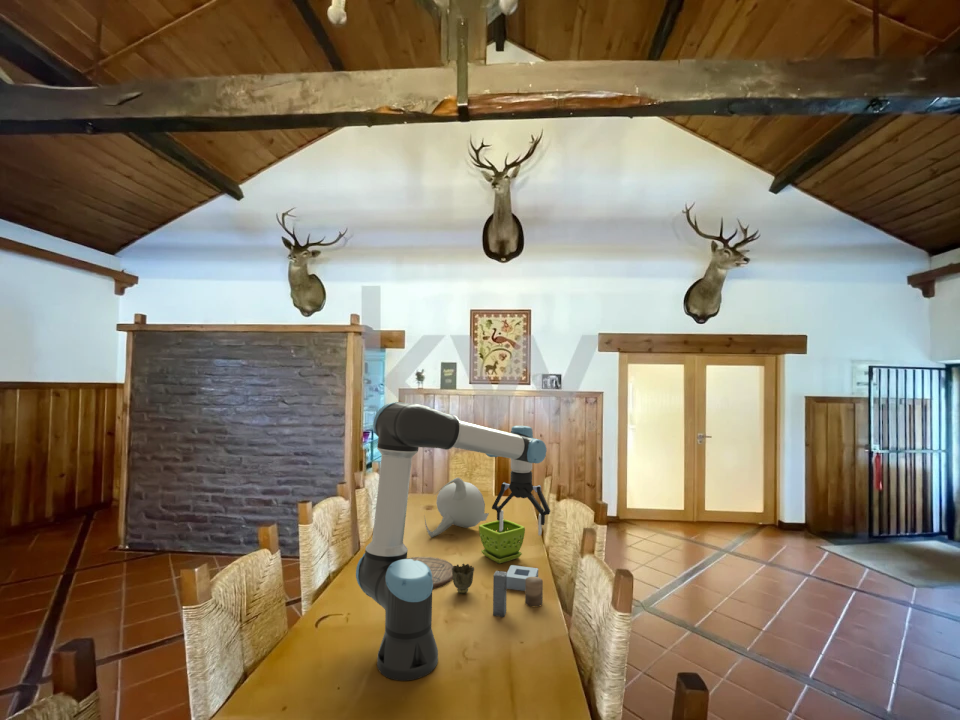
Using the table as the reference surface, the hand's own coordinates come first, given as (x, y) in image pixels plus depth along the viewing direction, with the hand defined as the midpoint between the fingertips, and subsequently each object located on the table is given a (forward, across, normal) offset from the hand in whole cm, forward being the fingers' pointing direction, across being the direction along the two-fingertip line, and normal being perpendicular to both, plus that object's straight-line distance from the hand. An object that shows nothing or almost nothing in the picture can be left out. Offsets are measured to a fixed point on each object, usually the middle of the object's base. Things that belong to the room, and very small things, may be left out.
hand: (520, 532), depth 160 cm
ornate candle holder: (+19, +18, +10) cm, 28 cm away
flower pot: (+19, +11, -23) cm, 32 cm away
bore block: (+18, 0, -2) cm, 19 cm away
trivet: (+19, +36, +1) cm, 41 cm away
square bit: (+19, +3, +20) cm, 27 cm away
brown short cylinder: (+18, -6, +10) cm, 22 cm away
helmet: (+18, +37, -48) cm, 64 cm away
